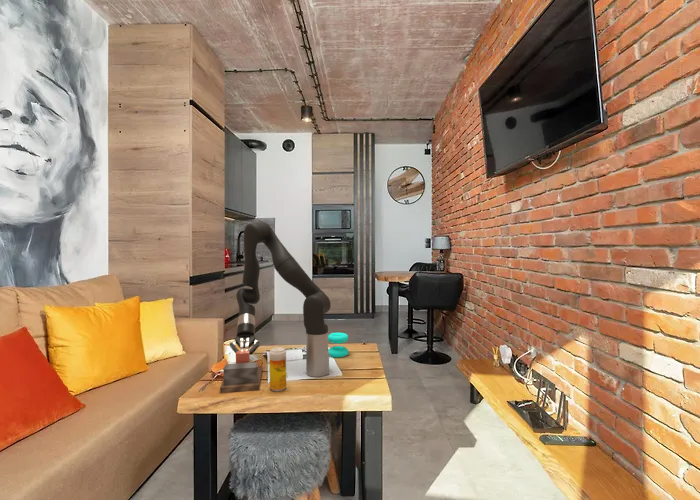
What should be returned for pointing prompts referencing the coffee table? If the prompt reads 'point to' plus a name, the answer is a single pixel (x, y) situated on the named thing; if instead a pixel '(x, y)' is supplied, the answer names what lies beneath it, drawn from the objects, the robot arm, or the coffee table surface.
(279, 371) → the beer glass
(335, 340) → the donuts
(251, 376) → the grey and brown block
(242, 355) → the reddish brown block
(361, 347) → the coffee table surface
